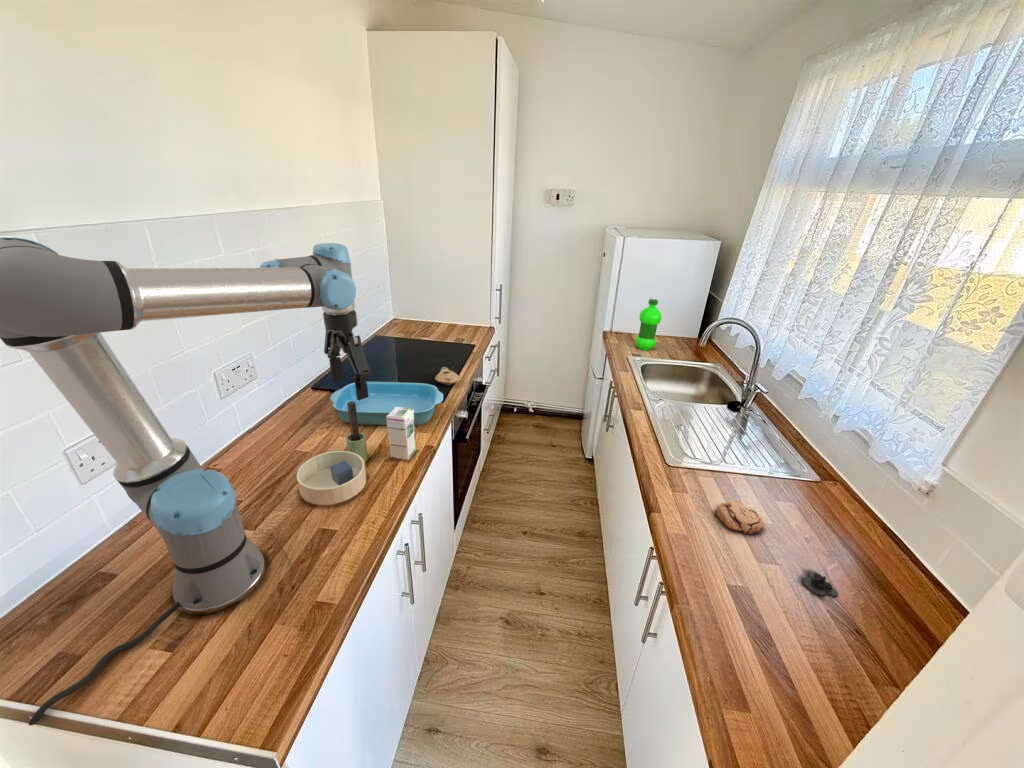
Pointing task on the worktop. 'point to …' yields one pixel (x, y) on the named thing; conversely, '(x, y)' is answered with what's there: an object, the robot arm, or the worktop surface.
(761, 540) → the worktop surface
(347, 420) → the casserole dish
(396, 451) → the syrup box
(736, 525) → the cookie
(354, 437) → the chopstick
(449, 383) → the pottery oil lamp
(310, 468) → the bowl
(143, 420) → the robot arm
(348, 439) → the utensil pot
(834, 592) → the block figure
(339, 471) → the block
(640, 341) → the plastic bottle
